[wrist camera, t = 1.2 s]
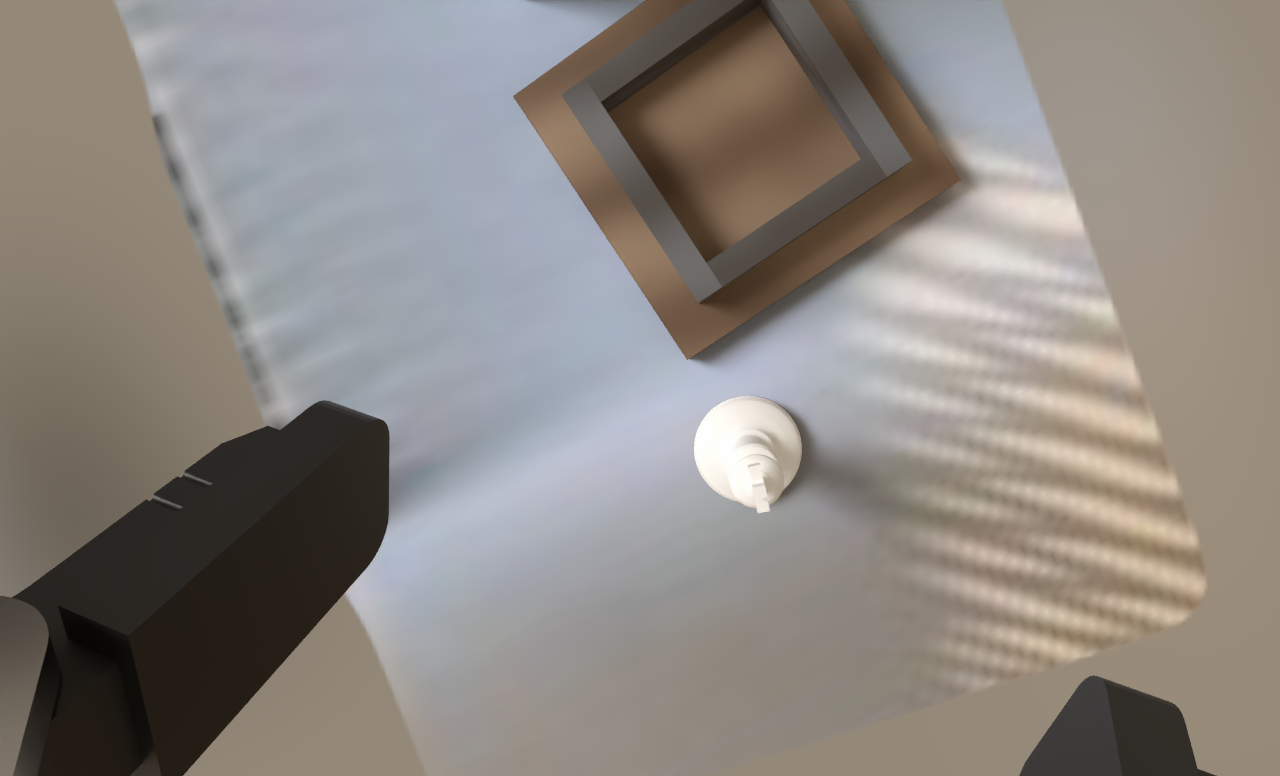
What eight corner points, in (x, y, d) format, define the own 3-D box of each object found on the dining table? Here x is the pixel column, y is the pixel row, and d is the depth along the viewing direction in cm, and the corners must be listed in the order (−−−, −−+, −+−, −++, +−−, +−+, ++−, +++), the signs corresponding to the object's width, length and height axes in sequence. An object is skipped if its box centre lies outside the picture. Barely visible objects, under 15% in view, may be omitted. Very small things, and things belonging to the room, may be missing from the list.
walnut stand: (519, 102, 39) (502, 83, 36) (779, -84, 37) (785, -122, 34) (688, 358, 39) (685, 362, 36) (953, 184, 38) (975, 171, 34)
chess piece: (789, 386, 39) (816, 408, 29) (811, 490, 39) (845, 548, 29) (684, 407, 40) (675, 437, 30) (706, 510, 40) (704, 574, 30)
